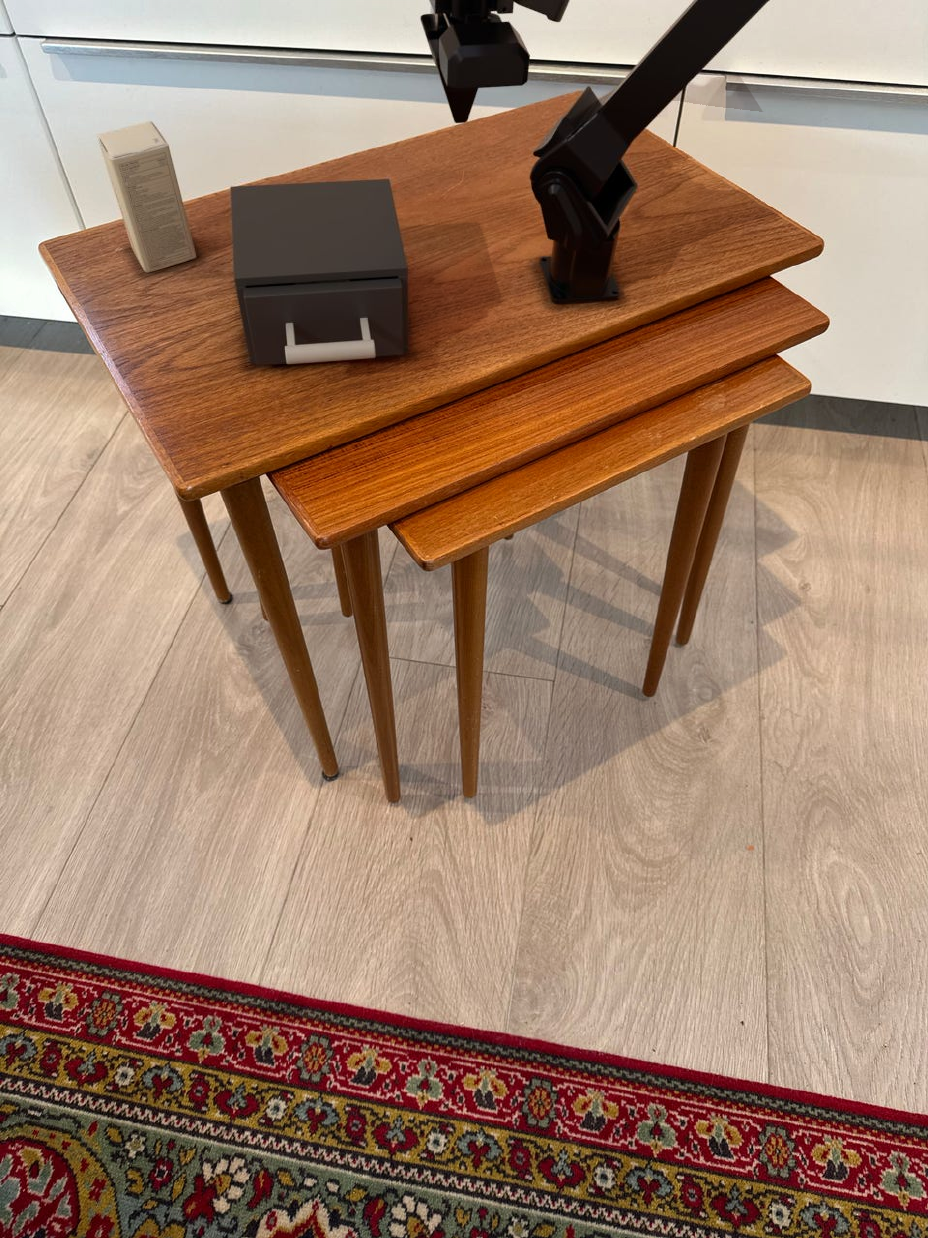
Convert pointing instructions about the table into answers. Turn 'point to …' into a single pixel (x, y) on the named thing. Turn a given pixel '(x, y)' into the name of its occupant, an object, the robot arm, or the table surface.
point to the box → (148, 195)
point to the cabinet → (315, 237)
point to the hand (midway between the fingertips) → (460, 120)
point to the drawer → (325, 320)
